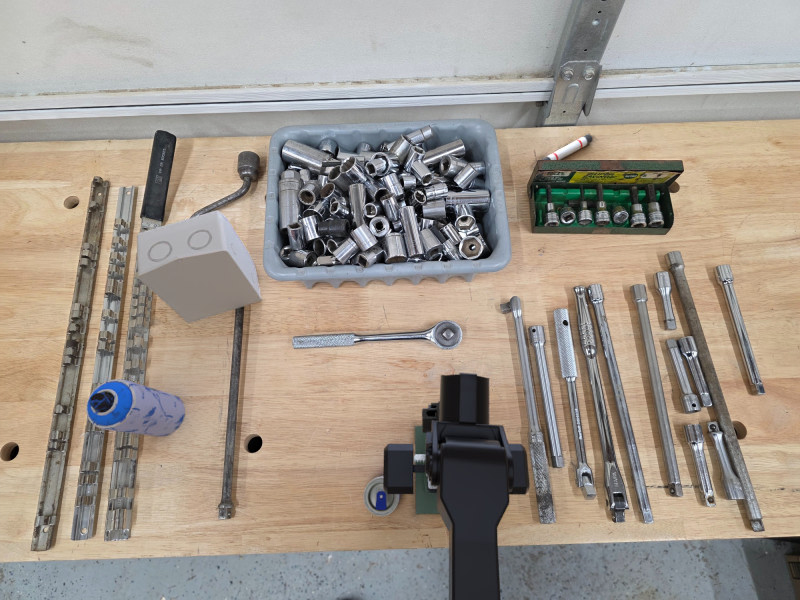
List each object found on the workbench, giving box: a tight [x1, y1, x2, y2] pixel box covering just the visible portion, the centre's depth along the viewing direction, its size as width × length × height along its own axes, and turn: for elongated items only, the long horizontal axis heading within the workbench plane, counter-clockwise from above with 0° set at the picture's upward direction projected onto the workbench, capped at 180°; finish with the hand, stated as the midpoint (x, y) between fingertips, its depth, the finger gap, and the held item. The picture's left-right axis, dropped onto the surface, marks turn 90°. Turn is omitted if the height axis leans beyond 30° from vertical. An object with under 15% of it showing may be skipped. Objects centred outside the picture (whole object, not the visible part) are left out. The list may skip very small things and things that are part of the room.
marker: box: [533, 133, 593, 169], centre depth 99 cm, size 15×2×2 cm, turn 121°
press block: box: [414, 425, 440, 515], centre depth 76 cm, size 14×10×4 cm
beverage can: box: [362, 475, 402, 517], centre depth 70 cm, size 5×5×15 cm
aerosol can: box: [85, 378, 186, 438], centre depth 73 cm, size 8×8×20 cm
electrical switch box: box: [136, 210, 263, 324], centre depth 84 cm, size 15×15×20 cm
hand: (449, 468), depth 67 cm, fingers closed
